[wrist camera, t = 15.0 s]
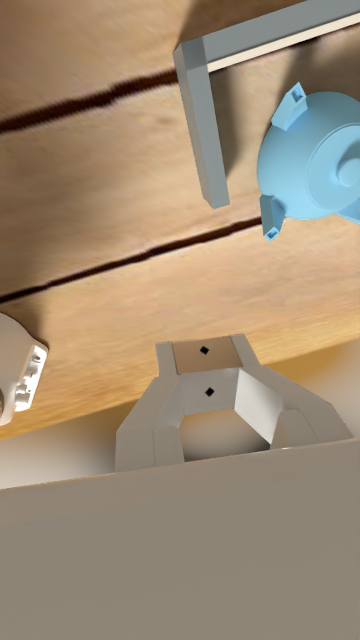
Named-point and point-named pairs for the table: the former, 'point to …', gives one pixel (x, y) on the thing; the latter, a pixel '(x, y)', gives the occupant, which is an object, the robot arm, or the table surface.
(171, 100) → the table surface
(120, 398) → the table surface
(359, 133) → the teapot
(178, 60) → the bracket
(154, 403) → the robot arm
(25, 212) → the table surface
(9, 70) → the table surface
